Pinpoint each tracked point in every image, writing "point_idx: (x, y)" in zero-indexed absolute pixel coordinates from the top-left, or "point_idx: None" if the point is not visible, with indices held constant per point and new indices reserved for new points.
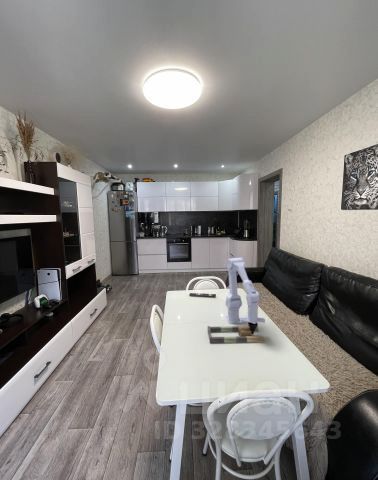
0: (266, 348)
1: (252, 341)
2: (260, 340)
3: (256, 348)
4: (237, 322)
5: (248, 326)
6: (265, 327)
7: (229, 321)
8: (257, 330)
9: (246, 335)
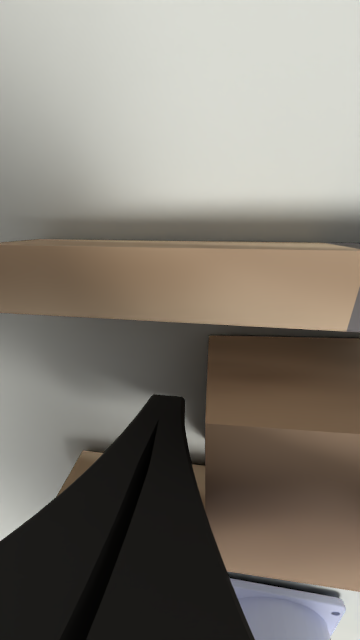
0: (27, 43)
1: (224, 242)
2: (80, 241)
3: (215, 33)
4: (252, 589)
5: None
6: (2, 487)
7: (330, 616)
8: (81, 461)
9: (302, 368)
